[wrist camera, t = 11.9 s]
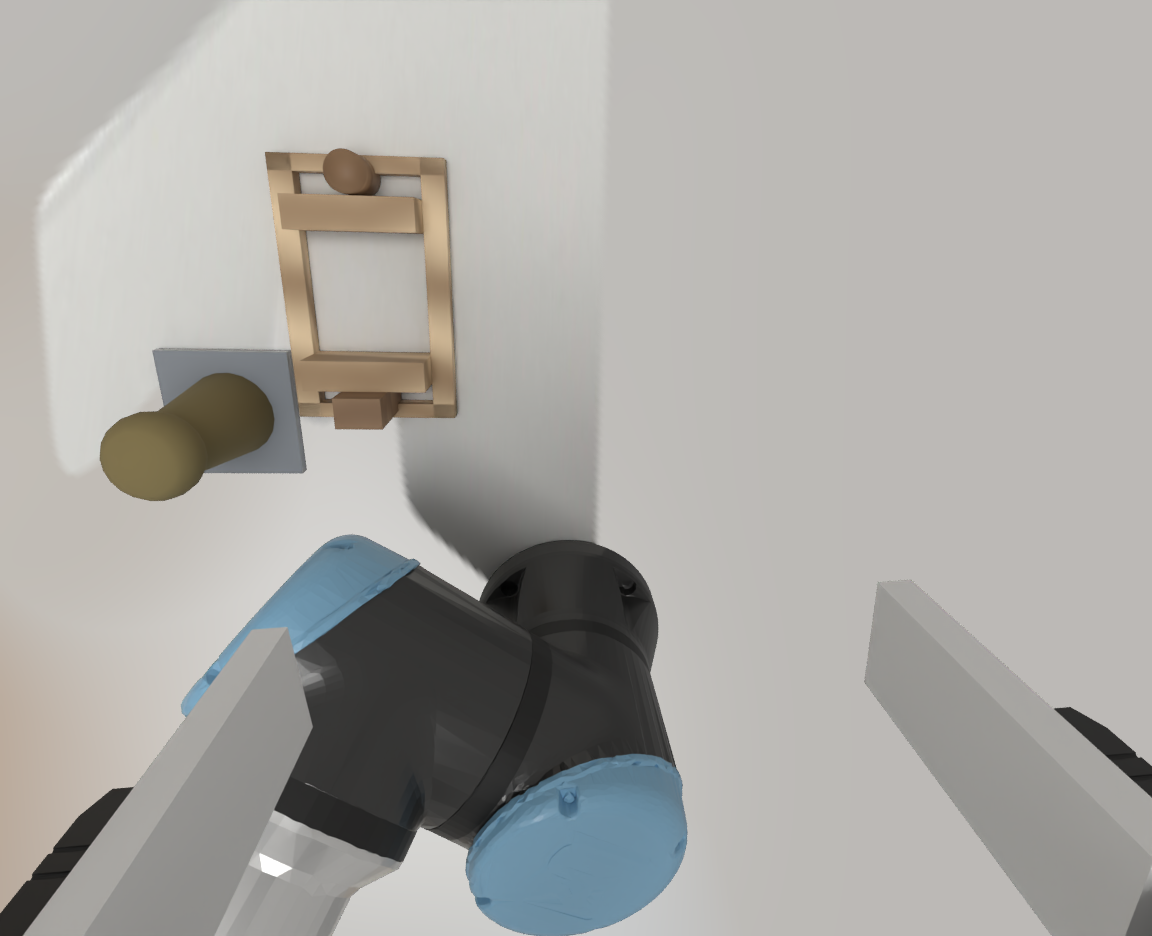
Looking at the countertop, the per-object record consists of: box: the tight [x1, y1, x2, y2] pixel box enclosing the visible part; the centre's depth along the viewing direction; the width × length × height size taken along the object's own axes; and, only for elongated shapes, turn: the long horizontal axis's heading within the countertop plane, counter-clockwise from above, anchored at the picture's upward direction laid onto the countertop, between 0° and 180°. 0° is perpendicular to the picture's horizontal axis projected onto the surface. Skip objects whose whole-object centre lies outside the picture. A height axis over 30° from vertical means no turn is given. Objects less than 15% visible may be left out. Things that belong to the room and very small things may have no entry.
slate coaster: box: [152, 349, 306, 473], centre depth 44 cm, size 9×9×1 cm
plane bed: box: [265, 149, 457, 429], centre depth 40 cm, size 17×11×6 cm, turn 179°
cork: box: [100, 373, 275, 501], centre depth 39 cm, size 6×6×11 cm
